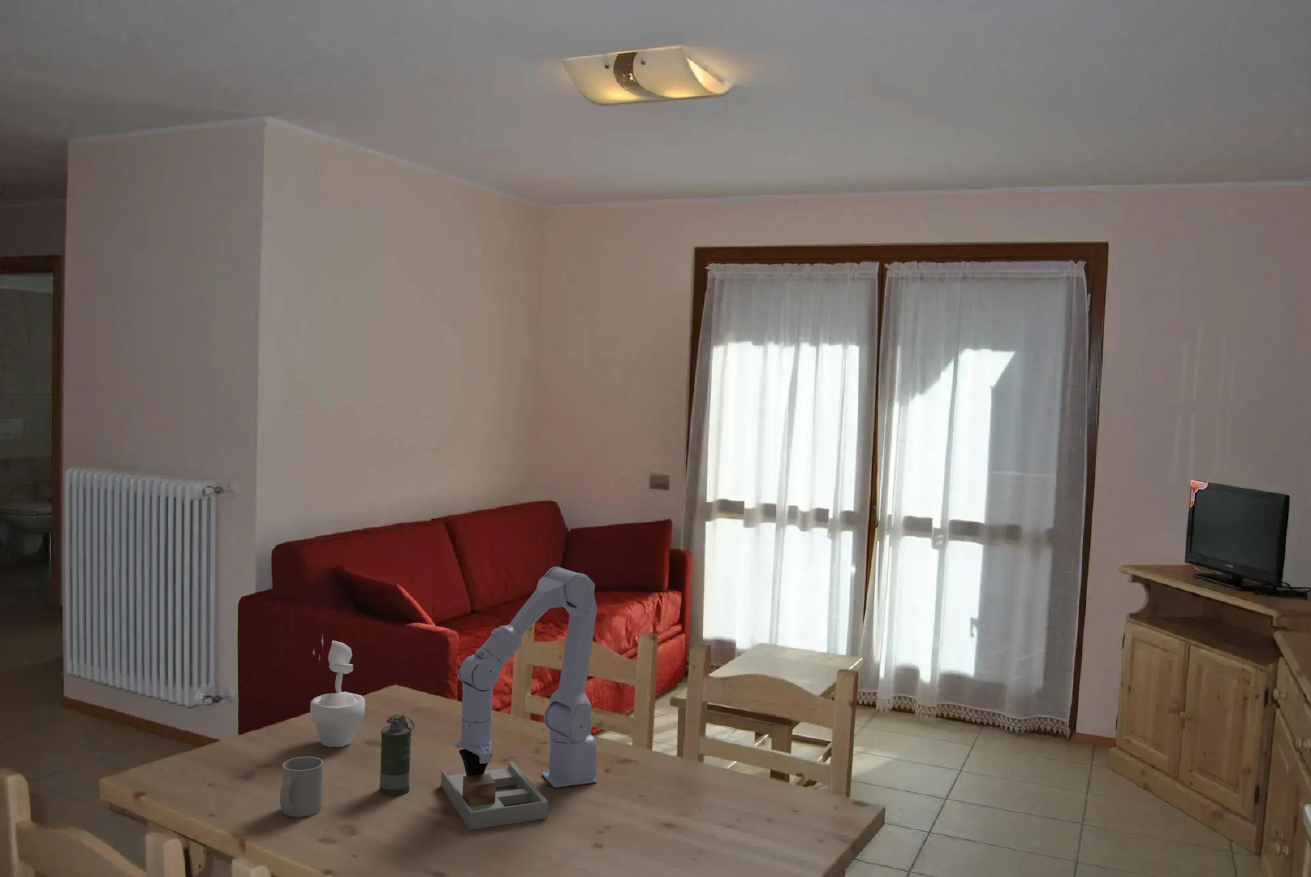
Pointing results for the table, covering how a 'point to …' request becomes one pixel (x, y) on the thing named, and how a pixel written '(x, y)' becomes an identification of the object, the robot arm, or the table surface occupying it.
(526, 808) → the tray
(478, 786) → the block
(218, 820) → the table surface
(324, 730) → the potted plant
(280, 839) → the table surface
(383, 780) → the grenade
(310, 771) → the cup
